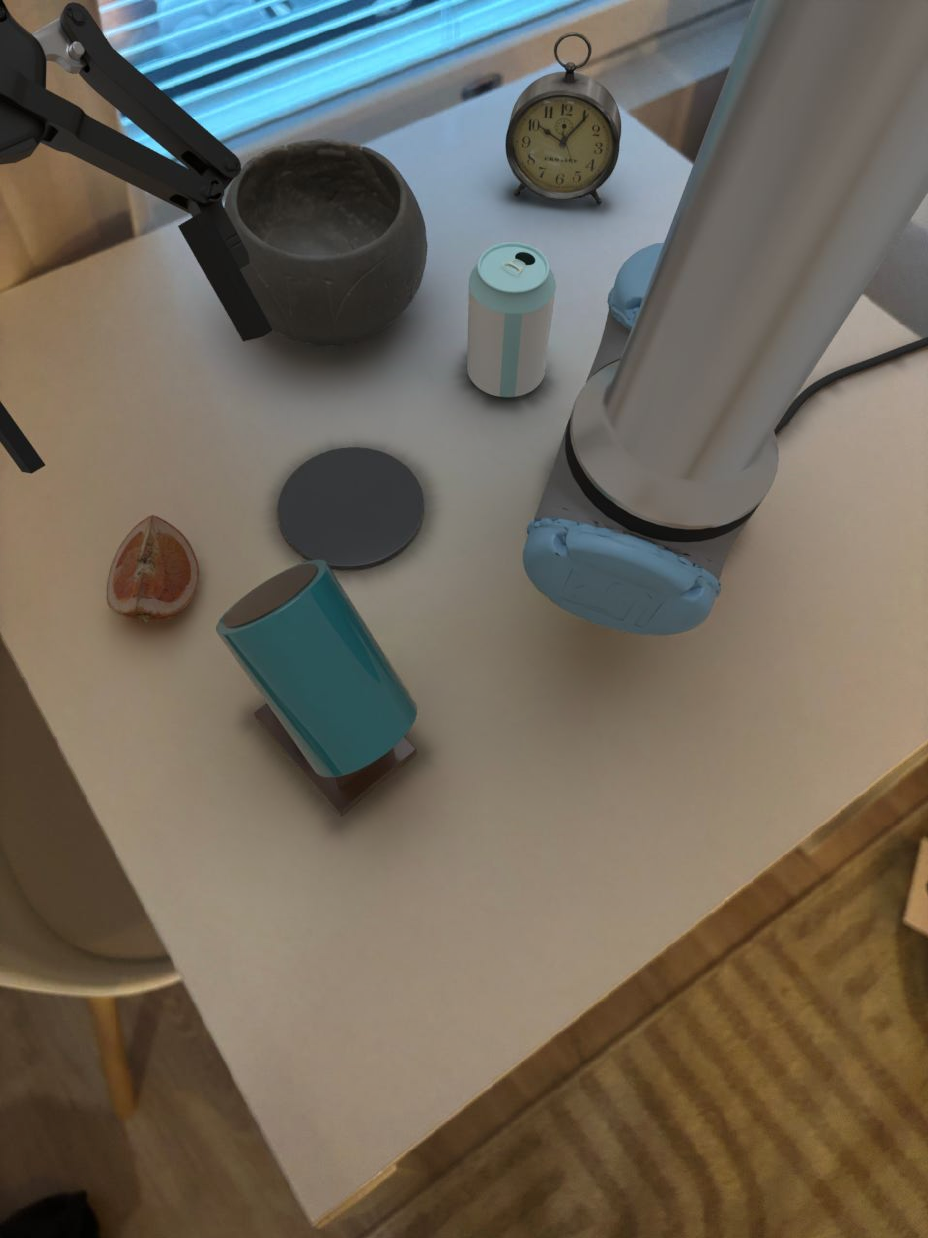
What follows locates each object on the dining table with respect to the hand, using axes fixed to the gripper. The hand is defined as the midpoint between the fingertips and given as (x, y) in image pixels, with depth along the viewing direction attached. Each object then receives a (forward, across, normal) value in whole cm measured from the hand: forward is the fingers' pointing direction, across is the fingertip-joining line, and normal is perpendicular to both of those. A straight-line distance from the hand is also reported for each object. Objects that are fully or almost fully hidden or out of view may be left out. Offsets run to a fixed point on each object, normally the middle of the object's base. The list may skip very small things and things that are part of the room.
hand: (152, 399), depth 48 cm
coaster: (+17, -15, -20) cm, 30 cm away
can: (+16, -35, -21) cm, 44 cm away
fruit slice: (+15, +2, -24) cm, 28 cm away
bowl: (+5, -29, -34) cm, 45 cm away
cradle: (+28, -1, -9) cm, 29 cm away
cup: (+18, 0, -1) cm, 18 cm away
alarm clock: (+6, -56, -31) cm, 64 cm away
